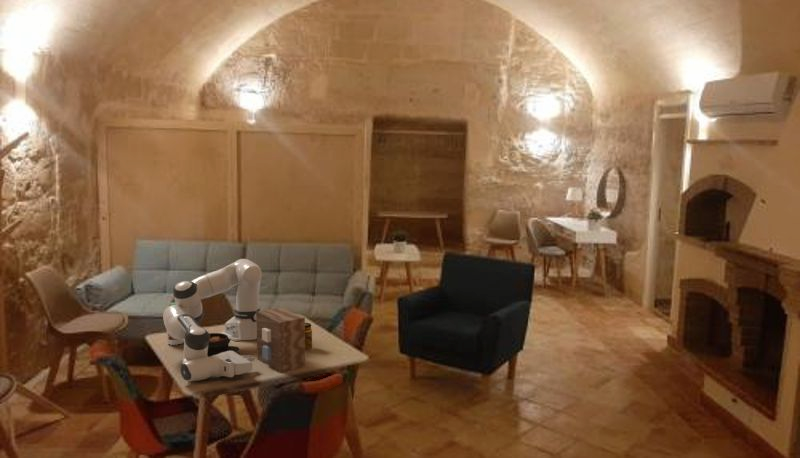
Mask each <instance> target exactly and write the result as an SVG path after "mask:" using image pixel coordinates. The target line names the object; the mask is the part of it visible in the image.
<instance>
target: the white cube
mask: <svg viewBox="0 0 800 458" xmlns="http://www.w3.org/2000/svg"><path fill="white" fill-rule="evenodd" d="M262 340H264V341H266V342H271V330H270V329H268V328H263V329H262Z"/></svg>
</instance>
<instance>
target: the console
mask: <svg viewBox="0 0 800 458" xmlns="http://www.w3.org/2000/svg"><path fill="white" fill-rule="evenodd" d="M305 319H306V317H304V316H301V315H298V314H296V313H295V312H292V311H289V310H287V309H284V308H282V307H276V308H270V309H265V310H260V311H258V312H256V320H257V339H256V354H257V355H256V356H257V357H256V358H257V360H258V361H260V362H262V363H263V364H265V365H268V366H269V367H271V368H272V369H274V370H276V371H278V373H279V372H280V373H285V372H288V371H292V370H293V371H294V370H297V369H300V368H304V367H306V351H305V323H306V320H305ZM263 328H268V329H270V330H271V342H266V341H264V340H262V329H263ZM266 345H267V346H269V347H271V349H272V359H271V360H266V359H265V358H263V357H262V346H266Z"/></svg>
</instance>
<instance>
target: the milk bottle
mask: <svg viewBox="0 0 800 458" xmlns="http://www.w3.org/2000/svg"><path fill="white" fill-rule="evenodd" d="M171 305H176V303H175V301H174V302H170V303H169V305H168V307H169V306H171ZM166 342H167V345H168V344H170V345H169V346H178V344H180V345H182V344H184V342H185V338H184V339H174V338H172V337H171V336H170V335H169V333H168V331H167V330H166Z"/></svg>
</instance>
